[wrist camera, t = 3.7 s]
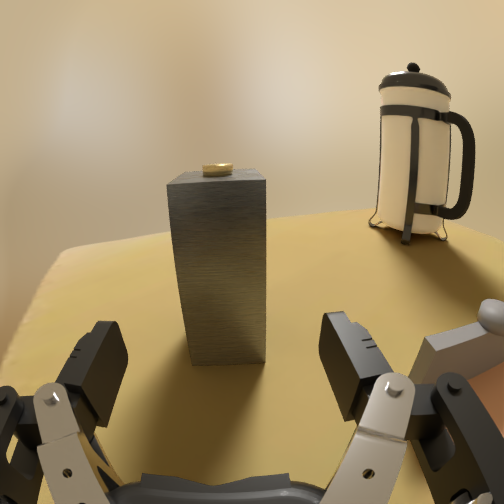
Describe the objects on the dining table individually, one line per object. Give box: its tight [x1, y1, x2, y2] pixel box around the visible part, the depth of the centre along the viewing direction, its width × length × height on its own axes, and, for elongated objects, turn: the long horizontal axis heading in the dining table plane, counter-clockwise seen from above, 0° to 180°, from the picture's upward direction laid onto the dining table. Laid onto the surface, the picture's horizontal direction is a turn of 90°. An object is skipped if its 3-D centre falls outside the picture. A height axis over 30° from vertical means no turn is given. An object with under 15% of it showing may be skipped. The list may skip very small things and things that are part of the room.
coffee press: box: [369, 63, 475, 245], centre depth 37 cm, size 17×16×30 cm
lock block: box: [167, 164, 266, 365], centre depth 19 cm, size 5×6×13 cm
